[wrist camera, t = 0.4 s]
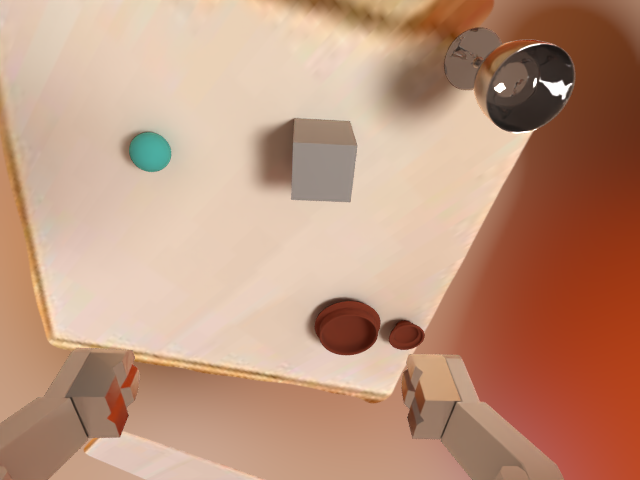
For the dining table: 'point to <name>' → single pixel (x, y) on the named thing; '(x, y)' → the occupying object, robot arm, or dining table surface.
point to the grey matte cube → (323, 160)
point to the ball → (150, 152)
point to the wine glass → (511, 78)
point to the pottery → (360, 329)
